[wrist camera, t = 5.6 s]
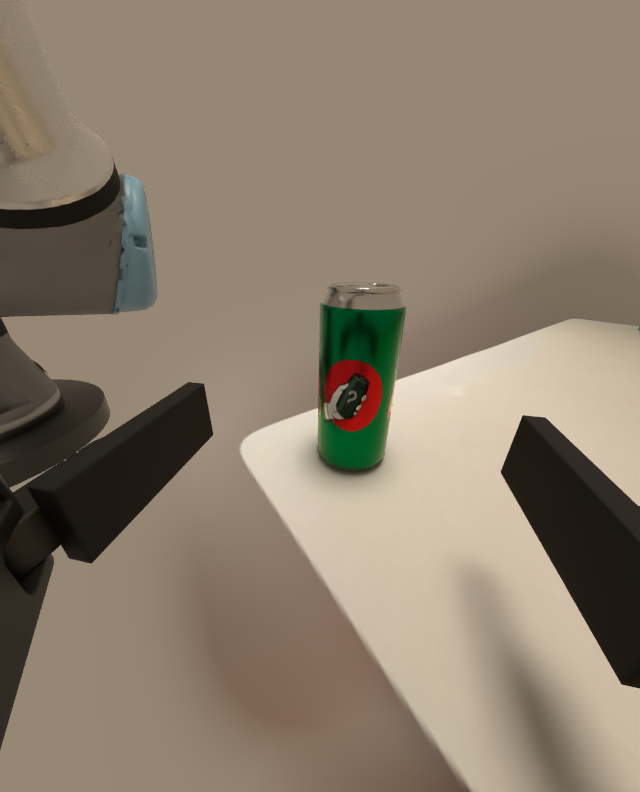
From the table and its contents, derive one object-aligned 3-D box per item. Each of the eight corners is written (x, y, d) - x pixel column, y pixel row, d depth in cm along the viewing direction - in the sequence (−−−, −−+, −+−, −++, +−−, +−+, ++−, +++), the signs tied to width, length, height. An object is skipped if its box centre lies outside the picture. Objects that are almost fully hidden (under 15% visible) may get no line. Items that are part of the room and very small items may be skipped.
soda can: (397, 465, 20) (429, 288, 15) (334, 483, 18) (345, 290, 13) (362, 429, 24) (376, 281, 19) (307, 441, 23) (307, 282, 17)
